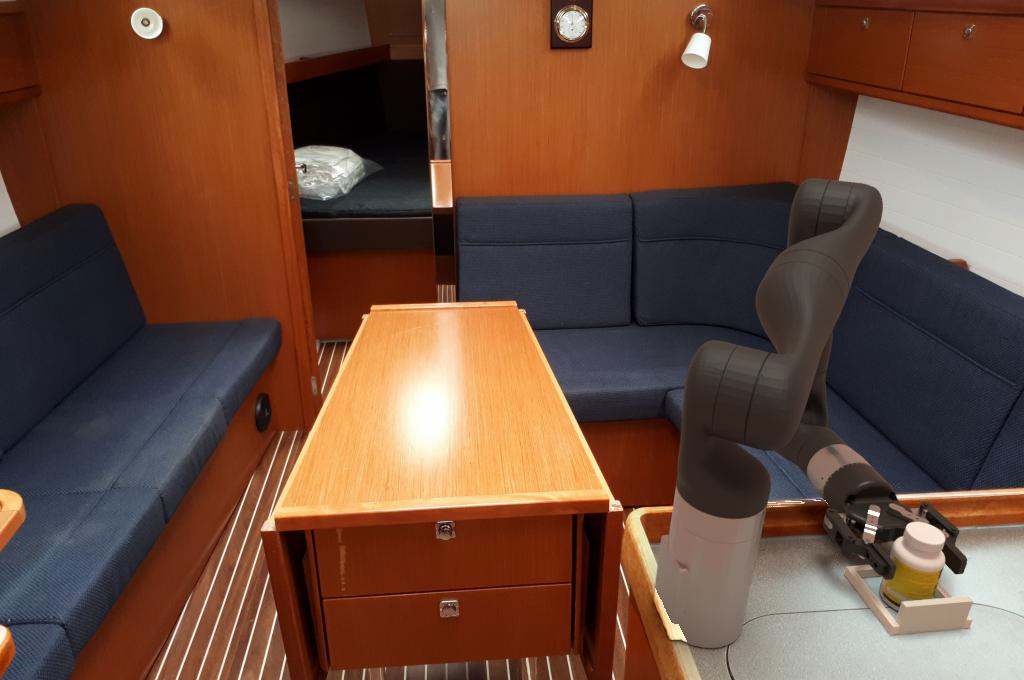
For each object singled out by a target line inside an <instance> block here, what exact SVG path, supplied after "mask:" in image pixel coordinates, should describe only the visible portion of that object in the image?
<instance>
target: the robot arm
mask: <svg viewBox="0 0 1024 680" xmlns="http://www.w3.org/2000/svg"><path fill="white" fill-rule="evenodd" d="M795 192H796V193H795V194H794V195H795V196H794V198H793V201H792V203H791V207H790V213H789V220H788V232H787V245H786V248H785V250H783V251H782V252H780V253H779V254H778V255H777V256H776V258H775V259H774V260H773V261H772V263H771V264H770V265H769V268H768V270H767V271H766V272H765V275H764V277H763V278H762V280H761V282H760V283H759V286H758V288H757V290H756V295H755V310H756V313H757V316H758V319H759V322H760V324H761V327H762V328H763V330H764V332H765V333H766V335H767V337H768V339H769V340H770V342H771V343H772V345H773V346H774V348H775V350H776V352H777V353H774V352H768V351H765V350H761V349H756V348H752V347H748V346H744V345H740V344H735V343H731V342H728V341H722V340H717V339H716V340H715V339H714V340H708V341H706V342H704V343H703V344H701V345H700V346H699V347H698V349H697V350H696V352H695V354H694V355H693V357H692V359H691V362H690V364H689V366H688V370H687V374H686V378H685V384H684V390H683V391H684V392H683V401H682V414H681V428H680V439H679V448H678V449H679V450H678V457H677V475H676V483H675V492H674V496H673V497H674V499H673V505H672V512H671V519H670V526H669V532H668V534H664V535H661V537H660V538H661V539H660V546H659V553H658V562H657V568H656V573H655V574H656V575H655V583H654V589H655V588H656V590H657V593H658V595H659V597H660V599H661V600H662V602H663V605H664V608H665V609H666V612H667V614H668V616H669V618H670V620H671V622H672V623H674V624H679V626H680V628H681V630H682V632H683V634H684V636H685V638H686V640H687V642H688V643H687V644H688V645H691V646H695V647H700V648H704V649H716V648H717V649H718V648H723V647H725V646H729V645H730V644H732V643H734V642H735V641H736V640H737V639H738V638H739V636H740V634H741V633H742V629H743V625H744V620H745V617H746V613H747V611H746V610H747V606H748V601H749V596H750V591H751V586H752V582H753V575H754V570H755V566H756V562H757V561H756V560H757V557H758V552H759V548H760V542H761V538H762V537H761V536H762V532H763V528H764V527H763V526H764V523H765V518H766V514H767V508H768V505H769V500H770V494H771V488H772V480H771V476H770V473H769V470H768V469H767V467H766V466H765V465H764V464H763V463H762V462H761V461H760V459H758V458H757V457H756V456H754V455H753V454H752V453H750V452H749V451H748V450H746V449H745V448H744V447H742V446H747V447H749V448H752V449H757V450H761V451H769V452H775V453H776V454H777V455H779V456H781V457H782V458H784V459H786V460H787V461H790V462H791V463H792V464H794V465H796V466H797V467H798V468H799V470H800V471H801V472H802V474H804V475H805V477H806V478H807V479H808V480H809V481H810V483H811V485H812V486H813V488H814V490H815V491H816V493H817V494H818V495H819V497H821V499H822V500H823V501H824V500H826V502H827V503H828V505H829V506H830V507H829V506H828V505H827V506H828V508H826V511H825V515H824V518H823V522H822V527H823V529H824V531H826V533H827V535H828V536H829V538H830V540H832V542H833V544H834V545H835V546H836V548H837V549H838V550H839V552H840V553H841V554H842V555H843V556H845V557H848V558H849V557H852V555H858V557H859V558H860V559H862V560H865V561H866V562H867V563H868V565H870V566H871V567H872V568H873V569H874V571H875V572H876V573H877V574H879V575H880V576H879V577H882V578H884V579H885V580H891V579H893V578H894V575H895V571H896V564H895V563H894V562H893V561H892V559H891V558H890V557H889V556H890V555H889V554H887V553H886V551H885V550H884V549H883V548H882V546H880V545H879V543H880V544H884V543H889V542H895V540H896V539H898V538H899V537H902V536H903V535H904V531H905V528H906V526H907V525H908V524H909V523H911V522H923V523H927V524H930V525H932V526H934V527H936V528H937V529H939V530H940V531H941V532H942V533H943V534H944V536H945V543H944V546H943V549H942V550H941V551H942V552H943V554H944V556H945V566H946V567H947V568H948V569H949V570H950V571H951V572H952V573H953V574H954V575H963V574H964V573H965V569H966V568H967V564H968V558H967V556H966V555H965V554H964V553H963V551H961V550H960V549H959V548H958V547H957V546H956V542H957V539H958V536H959V535H960V529H959V528H958V527H956V525H954V524H953V523H952V522H951V521H950V520H949V519H947V517H945V516H944V515H943V514H942V513H941V512H940V511H939V510H937V508H936V507H934V506H933V505H932V504H930V503H929V502H928V501H927V502H926V501H921V502H920V504H919V507H915V508H910V507H908V506H907V505H905V504H903V503H902V502H901V501H900V500H899V499H898V496H897V493H896V491H895V490H894V488H893V486H891V484H890V483H889V482H888V481H887V480H886V479H885V478H884V477H883V476H882V475H881V474H880V473H879V472H878V471H877V470H876V469H875V468H874V467H873V466H872V465H871V464H870V463H868V461H867V460H866V459H865V458H864V457H863V456H862V455H861V454H859V453H857V452H856V451H855V450H854V449H853V448H851V447H850V446H849V444H847V443H846V442H845V441H844V440H843V439H842V438H841V437H840V436H839V434H837V433H836V432H834V430H832V429H830V428H829V423H830V419H829V411H828V403H827V388H826V387H827V385H826V376H827V375H826V374H827V370H828V366H829V362H830V356H831V351H832V345H833V338H834V334H833V329H834V327H835V325H836V323H837V321H838V320H839V317H840V315H841V313H842V310H843V308H844V306H845V303H846V300H847V298H848V296H849V293H850V289H851V287H852V284H853V281H854V278H855V274H856V272H857V269H858V267H859V265H860V263H861V262H862V259H863V258H864V257H865V255H866V254H867V252H868V250H869V249H870V246H871V245H872V243H873V240H874V239H875V238H876V235H877V233H878V230H879V227H880V224H881V222H882V219H883V218H882V217H883V212H884V211H883V210H884V201H883V197H882V195H881V192H880V191H879V189H878V188H877V187H875V186H873V185H870V184H866V183H862V182H853V181H844V180H835V179H827V178H826V179H824V178H814V177H812V178H807V179H805V180H803V181H802V182H801V183H800V185H799V186H798V188H797V190H796V191H795ZM739 444H740V445H739ZM826 502H825V503H826ZM827 503H826V504H827ZM852 530H853V531H855V532H857V533H859V534H861V538H860V537H859V538H858V537H857V536H856V535H855V534H854V532H853V531H852ZM875 541H877V542H879V543H875ZM881 575H882V576H881Z"/></svg>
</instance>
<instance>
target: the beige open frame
mask: <svg viewBox="0 0 1024 680" xmlns="http://www.w3.org/2000/svg"><path fill="white" fill-rule="evenodd" d="M843 575H844V576H845V577H846V578H847V580H848V581H849V583H850V584H851V586H852V587H853V588H854V589H855V591H856V592H857V593H858V595H859V596H860V598H862V599H863V601H864V602H865V603H866V605H867V607H869V609H870V610H871V611H872V613H873V614H874V615H875V617H876V618H877V619H878V621H879V622H880V623H881V625H882V626H883V627H884V628H885V629H886V631H887V633H888V634H889V635H890V636H893V635H894V636H895V635H896V636H897V635H905V634H907V635H908V634H916V633H917V634H918V633H928V632H938V631H949V630H952V631H953V630H961V629H970V628H971V625H972V623H973V618H971V616H970V615H969V614H970V612H971V609H972V606H973V604H974V600H973V599H972V598H971V597H970V596H969V595H965V596H962V595H961V596H952V595H951V594H950V593H949V592H948V591H947V590H946V589H945V588H944V586H942V584H941V583H940V581H939V582H938V585H937V588H936V591H935V594H934V597H935V598H933V599H926V600H915V601H903V602H901V605H900V608H899V611H898V612H897V615H896V618H894V616H892V615H891V613H890V611H888V609H887V608H886V607H885V606H884V604H883V603H882V602H881V600H880V599H879V598H878V597H877V595H876V594H875V593H874V592H873V590H872V589H871V588H870V586H869V585H868V584H867V583H866V582H865V580H864V579H865V578H874V577H882V575H881V576H880V575H879V574H877V573H876V572H875V571H874V569H873V568H872V567H871V566H870V565H869V564H861V565H850V566H849V565H848V566H845V569H844V573H843ZM863 578H864V579H863Z"/></svg>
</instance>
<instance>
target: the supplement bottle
mask: <svg viewBox="0 0 1024 680" xmlns="http://www.w3.org/2000/svg"><path fill="white" fill-rule="evenodd" d="M944 543H945V536H944V534H943V533H942V532H941V531H940V530H939V529H937V528H936V527H934V526H932V525H930V524H927V523H923V522H911V523H909V524H908V525H907V526H906V528H905V531H904V535H903V536H902V537H899V538H898V539H896V540H895V541H893V544H892V547H891V549H890V553H889V555H888V556H889V557H890V558H891V559H892V561H893V562H894V563H895V564H896V571H895V575H894V578H893V579H891V580H885V579H884V578H883V577H882V579H881V582H880V585H879V594H880V596H881V599H882V600H883V601H884V602H885V603H886V604H887V605H888V606H889V607H891V608H892V609H893V610H895V611H899V608H900V605H901V602H903V601H915V600H926V599H934V597H935V596H934V594H935V591H936V588H937V585H938V582H939V583H940V579H941V576H942V574H943V570H944V567H945V566H946V564H945V556H944V554H943V552H942V551H941V550H942V549H943V546H944Z"/></svg>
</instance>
